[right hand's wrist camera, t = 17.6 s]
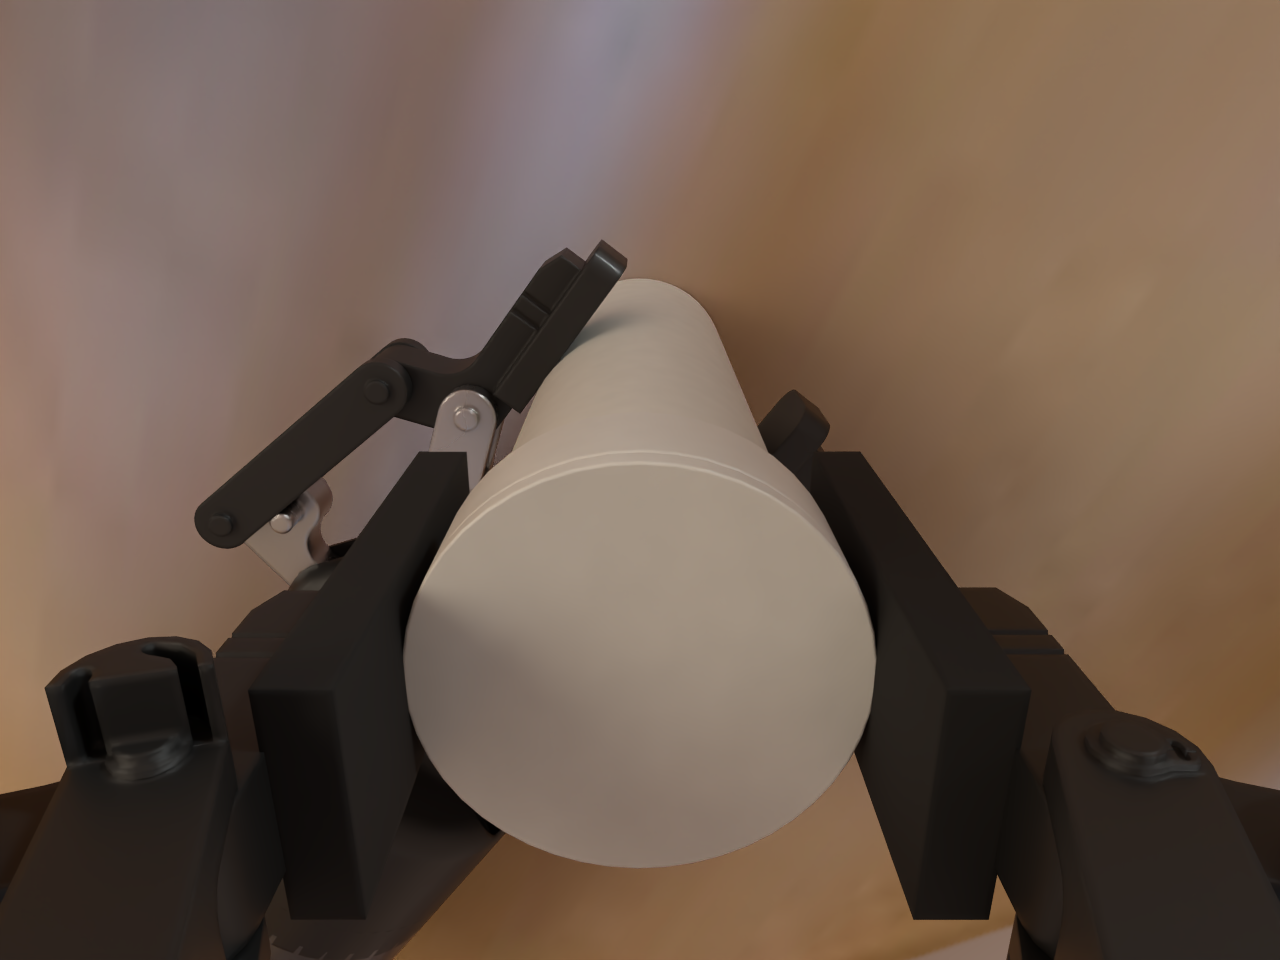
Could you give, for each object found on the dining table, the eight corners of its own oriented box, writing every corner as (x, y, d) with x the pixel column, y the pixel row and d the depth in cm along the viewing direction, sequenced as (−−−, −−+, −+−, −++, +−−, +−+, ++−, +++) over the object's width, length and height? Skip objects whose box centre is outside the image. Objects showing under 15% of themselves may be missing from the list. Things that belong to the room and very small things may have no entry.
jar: (590, 252, 25) (516, 409, 10) (748, 314, 25) (899, 547, 11) (535, 407, 26) (401, 740, 11) (685, 461, 27) (740, 843, 12)
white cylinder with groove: (478, 786, 13) (452, 888, 11) (397, 436, 11) (351, 493, 9) (849, 750, 13) (883, 848, 11) (832, 386, 11) (871, 433, 9)
